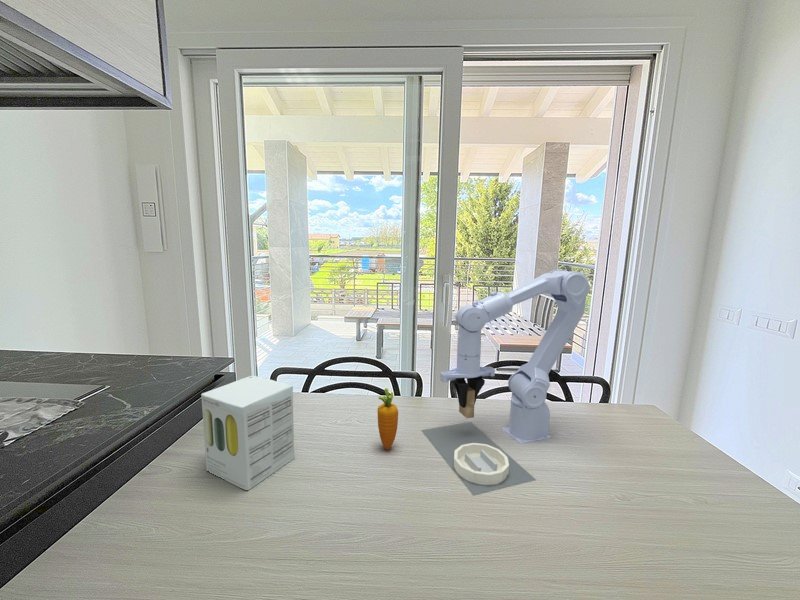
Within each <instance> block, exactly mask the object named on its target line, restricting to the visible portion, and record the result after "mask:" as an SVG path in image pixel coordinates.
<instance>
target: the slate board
mask: <svg viewBox="0 0 800 600" xmlns="http://www.w3.org/2000/svg"><path fill="white" fill-rule="evenodd" d="M420 431H421V432H422V434H423V435H424V436H425V437H426V439H427V440H428V441H429V442H430V444H432V446H433V447H434V449H435V450H436V451H437V452H438V454H439V455H440V456H441V457H442V459H443V460H444V461H445V463H447V464H448V466H449V467H450V469H451V470H452V471H453V472H454V474H455V475H456V476H457V477H458V479H459V480H460V481H461V483H463V485H464V486H465V487H466V489H467V490H468V491H469V492H470V494H471V495H472V497H473V496H477V495H482V494H485V493H489V492H493V491H498V490H501V489H505V488H511V487H515V486H517V485H522V484H526V483H529V482H534V481H537V479H536V478H535V477H534V476H533V475H532V474H531V473H530V472H528V471H527V470H526V469H525V468H523V466H521V464H519V463H518V462H517V461H516V460H515V459H514V458H513V457H511V455H509V454H508V453H507V452H506V451H505V450H503V448H502V447H500V446H499V445H497V443H495V442H494V441H493V440H492V439H491V438H490V437H489V436H488V435H487V434H486V433H484V432H483V431H482V430H481V429H480V428H478V427H477V425H475V424H474V423H473V422H472V421H469V422H463V423H456V424H452V425H450V424H449V425H444V426H439V427H438V426H437V427H432V428H426V429H421V430H420ZM470 443H479V444H487V445H489V446H492V447H494V448H497V449H499V450H500V451H501V452H503V453H504V454H505V455H506V456H507V457H508V462H509V474H508V475H507V478H506V479H505V480H504V481H503V482H502V483H500V484H497V485H492V486H483V485H477V484H473V483H471V482H468V481H466V480H464V479H463V478H461V477H460V476H459V475H458V474H457V473H456V471H455V469H454V452H455V450H456V449H457V448H458V447H460V446H461V445H464V444H470Z"/></svg>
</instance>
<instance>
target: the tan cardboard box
mask: <svg viewBox="0 0 800 600" xmlns="http://www.w3.org/2000/svg"><path fill="white" fill-rule="evenodd" d="M474 401H475V390H473V389H472V388H470V387H468V390H467V396H466V407H465V408H462V407H461V406H460V405H459V404H458V405H459V406H458V412H459V413H460V414H461V415H462V416H463V417H464V418H466V419H472V418H474V417H475V405H474Z"/></svg>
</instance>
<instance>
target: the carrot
mask: <svg viewBox="0 0 800 600" xmlns="http://www.w3.org/2000/svg"><path fill="white" fill-rule="evenodd" d="M384 393H385V395H384V396H380V395H379V396H378V399H379V400H380V401H382V402H383V403H382V404H380V405H379V406H378V407H377V428H378V433H379V438H380V441H381V443H382V444H381V445H382V446H383V448H384V450H385V451H389V450H391V448H392V446H393V444H394V442H395V439H396V437H397V436H396V435H397V431H398V423H399V410H398V407H397V405H396V404H394V403H392V402H393V399H394V392H393V391H391V392H390V391H389V388H387V387H386V388H384Z"/></svg>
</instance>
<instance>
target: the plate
mask: <svg viewBox="0 0 800 600" xmlns="http://www.w3.org/2000/svg"><path fill="white" fill-rule="evenodd" d="M454 469H455V471H456V473H457V474H458V475H459V476H460V477H461V478H463V479H464V480H466V481H468V482H471V483H473V484H477V485H483V486H492V485H497V484H500V483H502V482H503V481H504V480H505V479H506V478H507V475H508V474H509V462H508V457H507V456H506V455H505V454H504V453H503V452H501V451H500V450H499V449H497V448H494V447H492V446H489V445H487V444H479V443H470V444H464V445H461V446H460V447H458V448H457V449H456V450H455V452H454ZM456 473H455V474H456Z"/></svg>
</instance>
